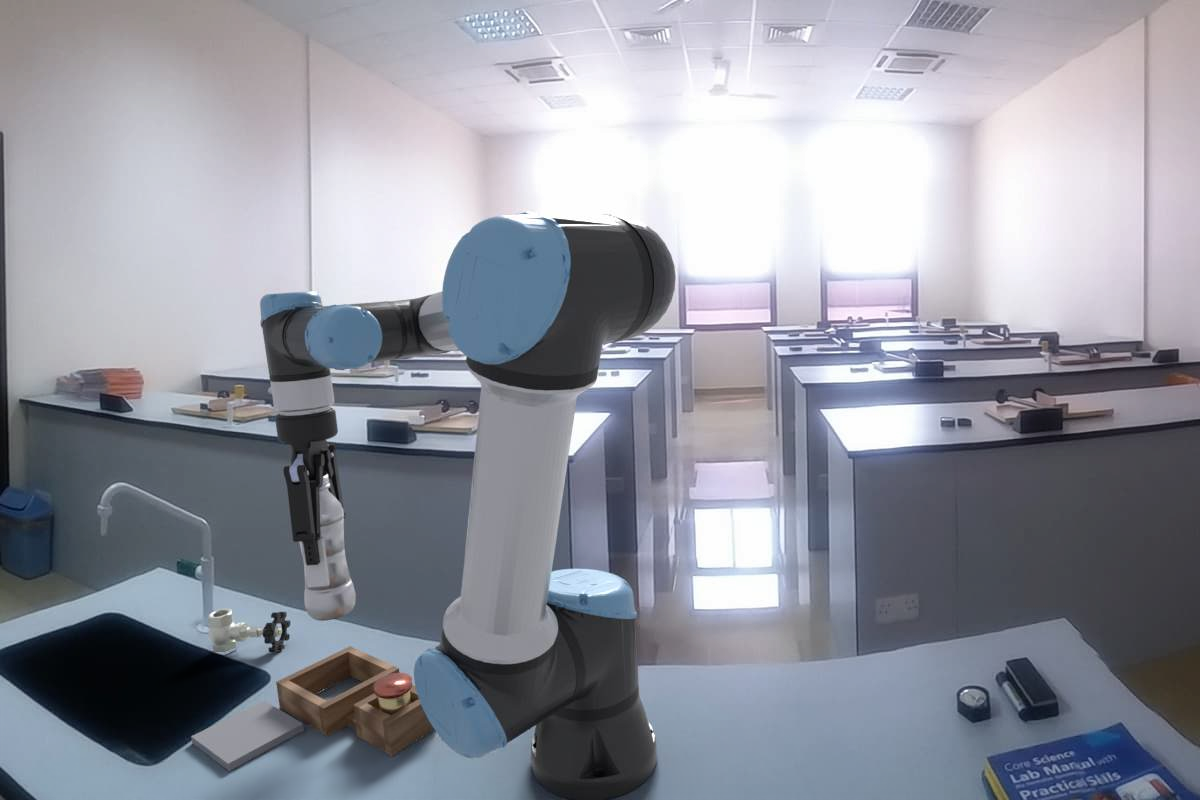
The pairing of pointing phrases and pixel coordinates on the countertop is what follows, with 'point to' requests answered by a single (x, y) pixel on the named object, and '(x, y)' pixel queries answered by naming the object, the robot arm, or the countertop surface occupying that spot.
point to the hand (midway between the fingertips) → (326, 575)
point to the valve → (245, 631)
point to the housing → (352, 701)
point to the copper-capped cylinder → (393, 692)
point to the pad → (246, 734)
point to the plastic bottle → (331, 563)
